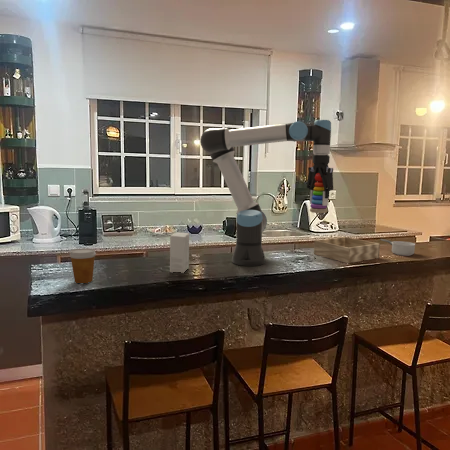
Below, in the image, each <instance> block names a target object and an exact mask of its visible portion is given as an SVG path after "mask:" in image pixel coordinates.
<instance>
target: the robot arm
mask: <svg viewBox="0 0 450 450" xmlns="http://www.w3.org/2000/svg"><path fill="white" fill-rule="evenodd" d="M331 137H332V122H331V120H329V119H316V120H314V122H313V124H306V123H305V122H303V121H301V120H300V121H299V120H298V121H294V122H289V123H278V124H271V125H269V124H268V125H262V126H261V125H260V126H253V127H243V128H236V129H233V128H232V129H229V128H228V127H224V128H222V127H221V128H216V127H215V128H214V127H212V128H208V129H206V130H204V132H202V134H201V136H200V138H199V140H200V141H199V143H200V145H201V148H202V149H203V150H204V151H205V152H206V153H208V154H209V155H210V158H211V161H212V163H215V164H217V166H218V168H219V171H220V173H221V175H222V177H223V179H224V181H225V183H226V184H225V185H226V186H227V188H228V191H229V192H230V195H231V197H232V199H233V201H234V203H235V206H236V208H237V210H236V217H235V218H236V219H235V221H236V226H235V227H236V230H235V231H236V232H235V234H236V236H235V237H236V238H235V240H236V241H235V247H234V250H233V254H232V257H231V262H232V263H233V264H234V265H238V266H243V267H244V266H245V267H246V266H247V267H254V266H255V267H256V266H261V265H264V264H265V263H266V257H265V253H264V249H263V244H262V240H263V232H264V231H265V229H266V228H267V223H268V221H267V216H266V214H265V212H263V211H262V207H260V204H259V203H258V202H256V201H254V198H253V196H252V194H251V191H250V190H249V187H248V185H247V183H246V181H245V179H244V175H243V174H242V172H241V170H240V167H239V165H238V163H237V161H236V158H235V157H234V156H235V153H236V151H235V149H234V148H236V147H245V146H253V145H254V146H255V145H262V144H263V145H264V144H273V143H281V142H282V143H283V142H313V143H312V144H313V146H312V154H313V155H312V163H313V166H312V167H311V166H310V167H308V168H307V169H308V174H307V182H306V188H307V189H309V204H310V205H311V204H312V200H313V199H312V196H313V192H314V187H316V186H315V183H316V182H317V181H316V180H315V175H316V174H317V173H320V176H321V177H322V181H323V186H324V190H323V203H322V206H328V205H329V198H330V192H331V191H333V190H334V176H333V175H334V174H333V173H334V167H329V164H330V155H329V154H331V153H330V152H331Z"/></svg>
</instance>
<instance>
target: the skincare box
mask: <svg viewBox="0 0 450 450" xmlns="http://www.w3.org/2000/svg"><path fill="white" fill-rule="evenodd" d="M169 237H170V238H169V239H170V241H169V272H170V273H173V272H181V273H180V274H185V273H186V272H187V271H188V270H187V269H188V268H189V266H190V233H189V232H178V231H177V232H176V231H175V232H174V233H173V234H171V235H169ZM186 270H187V271H186ZM185 271H186V272H185ZM184 272H185V273H184Z"/></svg>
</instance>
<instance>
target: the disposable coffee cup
mask: <svg viewBox="0 0 450 450" xmlns="http://www.w3.org/2000/svg"><path fill="white" fill-rule="evenodd" d="M96 255H97V252H96V251H95V249H93V248H87V247H85V248H84V247H83V248H82V247H81V248H73V249H72V250H70V252H69V255H68V256H69V257H70V261H71V267H72V274H73V278H74V283H75V282H76V283H75V284H77V283H87V284H89V283H88V282H91V281H92V282H93V278H94V269H95V257H96ZM92 282H91V283H92Z"/></svg>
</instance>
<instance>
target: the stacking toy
mask: <svg viewBox="0 0 450 450" xmlns="http://www.w3.org/2000/svg"><path fill="white" fill-rule="evenodd" d="M315 180H316V181H317V182H316V183H315V186H316V187H314V192H313V196H312V199H313V200H312V204H310V206H309V207H310V209H309V211H310V212H311V213H315V214H326V213H327V212H328V208H327V206H328V205H327V206H322V203H323V190H324V186H323V181H322V177H321V176H320V173H317V174H316V175H315Z"/></svg>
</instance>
